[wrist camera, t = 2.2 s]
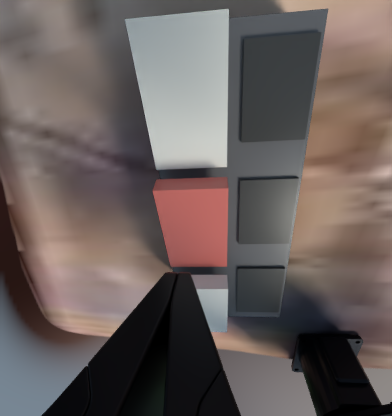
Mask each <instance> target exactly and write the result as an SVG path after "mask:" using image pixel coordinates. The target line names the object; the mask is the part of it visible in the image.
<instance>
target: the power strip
mask: <svg viewBox="0 0 392 416" xmlns="http://www.w3.org/2000/svg"><path fill="white" fill-rule="evenodd" d="M327 13H328V9H319V10H308V11H298V12H287V13H277V14H266V15H256V16H246V17H235V18H229V44H228V122H227V167H215V168H190V169H166V170H159V175H160V179H183V178H210V177H227V180H228V237H227V267H173V272H177V273H179V272H190V273H191V275H227V280H228V312H227V316H233V317H280V311H281V304H282V298H283V292H284V285H285V279H286V273H287V266H288V260H289V254H290V248H291V241H292V235H293V229H294V222H295V216H296V210H297V203H298V197H299V191H300V184H301V178H302V172H303V165H304V159H305V153H306V146H307V140H308V134H309V127H310V121H311V115H312V108H313V102H314V96H315V89H316V83H317V77H318V70H319V64H320V58H321V51H322V45H323V39H324V32H325V26H326V20H327Z"/></svg>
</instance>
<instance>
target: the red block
mask: <svg viewBox="0 0 392 416" xmlns="http://www.w3.org/2000/svg"><path fill="white" fill-rule="evenodd" d="M153 194H154V199H155V203H156V207H157V211H158V216H159V220H160V224H161V228H162V232H163V237H164V241H165V245H166V249H167V253H168V258H169V262H170V266H171V267H227V237H228V180H227V177H210V178H183V179H156V182H155V185H154V188H153Z"/></svg>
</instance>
